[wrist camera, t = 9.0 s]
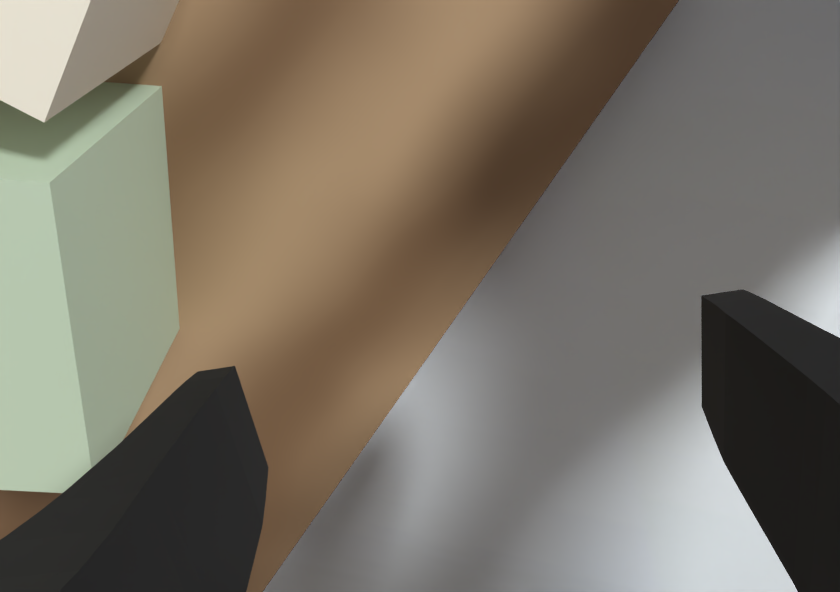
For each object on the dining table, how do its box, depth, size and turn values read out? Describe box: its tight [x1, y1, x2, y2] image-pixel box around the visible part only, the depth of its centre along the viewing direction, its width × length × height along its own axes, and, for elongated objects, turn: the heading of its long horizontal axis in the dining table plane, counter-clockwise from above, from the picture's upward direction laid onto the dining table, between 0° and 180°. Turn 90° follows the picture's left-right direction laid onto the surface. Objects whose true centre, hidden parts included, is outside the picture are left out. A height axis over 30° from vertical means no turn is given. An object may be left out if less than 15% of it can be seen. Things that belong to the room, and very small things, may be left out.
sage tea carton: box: [0, 82, 180, 493], centre depth 17 cm, size 4×6×6 cm, turn 176°
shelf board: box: [0, 0, 679, 592], centre depth 20 cm, size 16×24×4 cm
